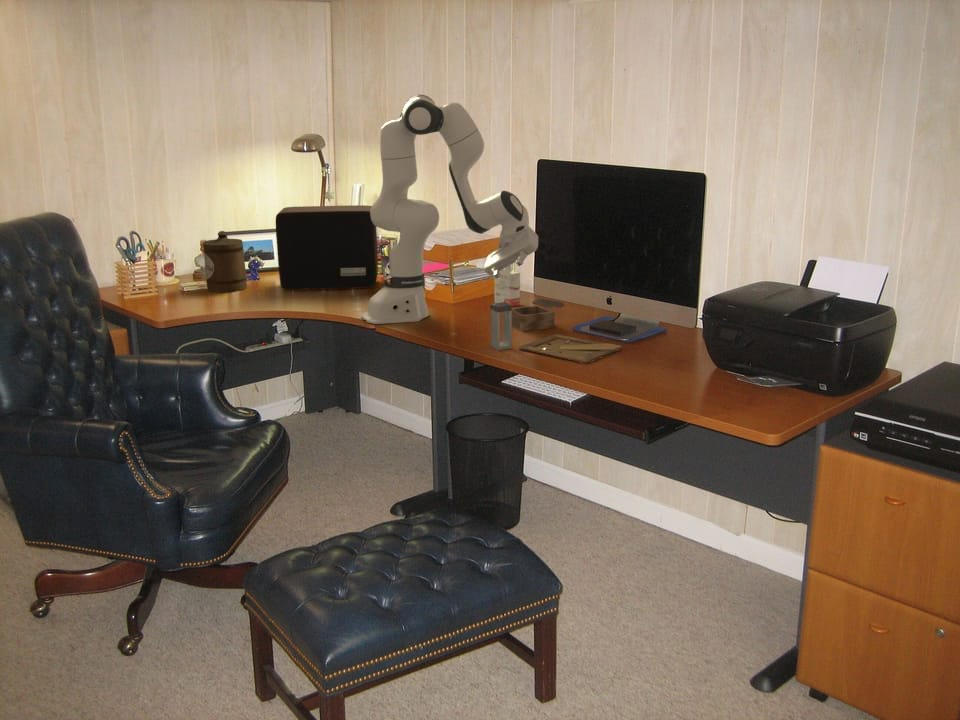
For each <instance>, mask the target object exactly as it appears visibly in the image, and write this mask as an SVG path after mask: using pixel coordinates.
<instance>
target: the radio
mask: <svg viewBox="0 0 960 720" xmlns="http://www.w3.org/2000/svg"><path fill="white" fill-rule="evenodd" d="M371 207H372V205H360V204H359V205H354V204H353V205H351V204H350V205H316V206H315V205H314V206H313V205H312V206H310V205H309V206H306V205H305V206H287V207H286V206H285V207H283V208H282V209H281V210H280V211H279V212H278V213H277V214H276V216H275V234H276V238H275V239H276V250H277V262H278V263H277V264H278V265H277V266H278V275H279V277H278V278H279V284H280V287H281V289H283V290H295V291H299V290H329V289H330V290H334V289H335V290H340V289H344V290H345V289H361V290H363V289H367V288H369V289H370V288H374V287H375V286H376V284H377V279H378V272H379V269H378V268H379V266H378V265H379V264H378V263H379V262H378V257H379V256H378V240H377V239H378V238H377V237H378V236H377V235H378V233H377V226H375V225H374V224H373V222H372V220H371V216H370V211H371Z"/></svg>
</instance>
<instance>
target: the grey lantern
mask: <svg viewBox="0 0 960 720" xmlns="http://www.w3.org/2000/svg"><path fill="white" fill-rule="evenodd" d="M512 308H513V307H512V305H510V304H508V303H506V302H502V303H495V302H493V303H490V346H491V348H493V349H495V350H496V351H502V350H510V349H512V348H513V345H512V344H513V343H512V342H513V339H512V337H513V336H512V335H513V334H512V333H513V331H512V330H513V327H512ZM501 313H502V341H501V333H500V332H501Z"/></svg>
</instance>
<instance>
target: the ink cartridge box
mask: <svg viewBox="0 0 960 720" xmlns="http://www.w3.org/2000/svg"><path fill="white" fill-rule="evenodd" d="M511 268H512V267H511V265H510V266H508V267H506V268H504V269H502V270H501V271H499V273H500V277H499V278H497V279H496V278H495V277H494V276H493V277H494V303H502V302H506V303H508V304H510V305H512V308H515V307H520V306H521V272H517V271H513V270H512V269H511Z"/></svg>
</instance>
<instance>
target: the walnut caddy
mask: <svg viewBox="0 0 960 720" xmlns="http://www.w3.org/2000/svg"><path fill="white" fill-rule="evenodd" d="M512 328H514V329H516V330H518V331H519V332H531V331H537V330H538V331H539V330H547V329H548V330H549V329H554V328H555V312H554V311H552V310H550V309H548V308H546V307H544V306H541V305H539V304H535V305H534V304H533V305H526V306H515V307H512Z"/></svg>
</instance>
